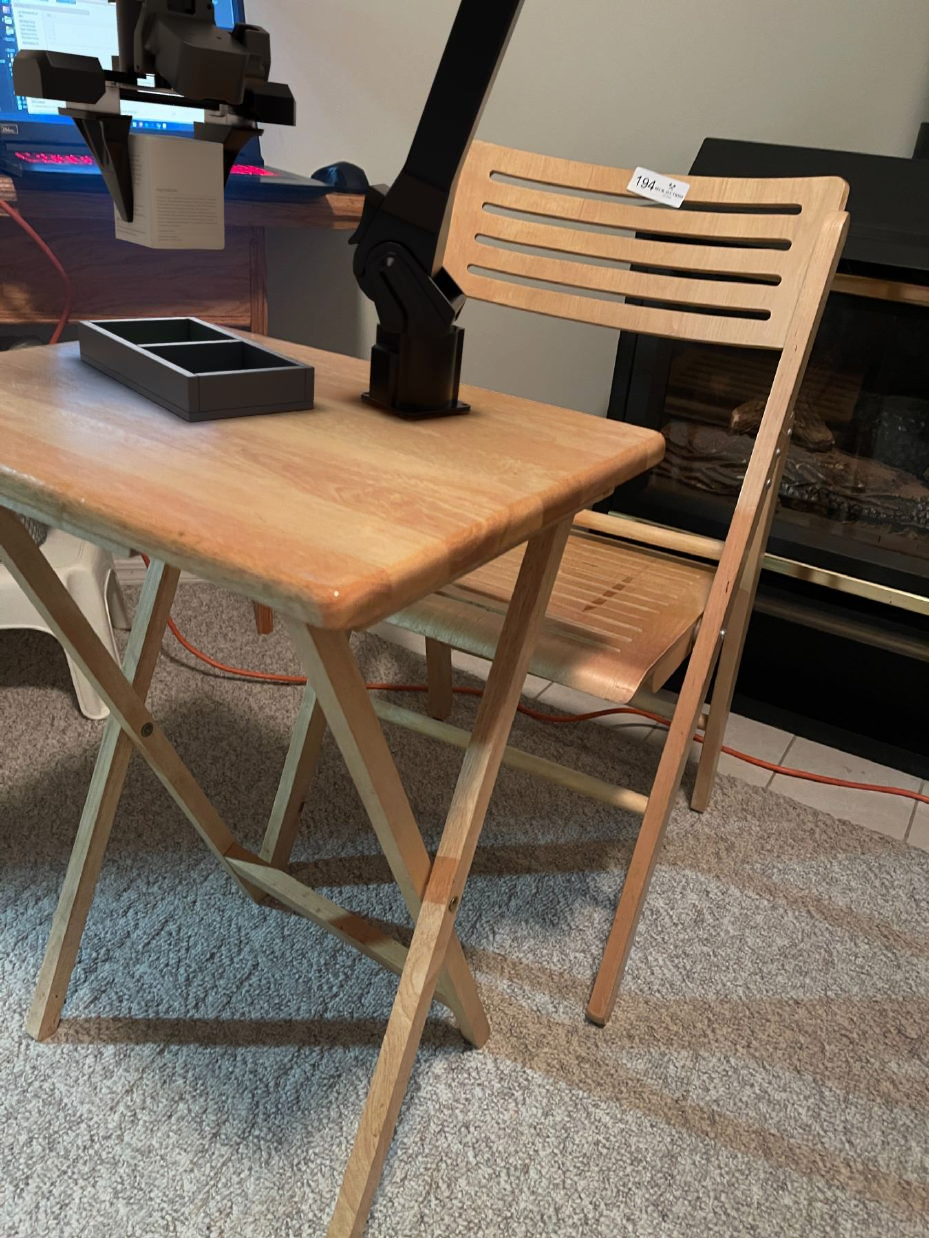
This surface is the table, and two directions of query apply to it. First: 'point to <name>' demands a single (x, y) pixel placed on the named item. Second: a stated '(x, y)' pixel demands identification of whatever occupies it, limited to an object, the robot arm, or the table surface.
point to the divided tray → (196, 367)
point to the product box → (175, 193)
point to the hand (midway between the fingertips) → (168, 223)
